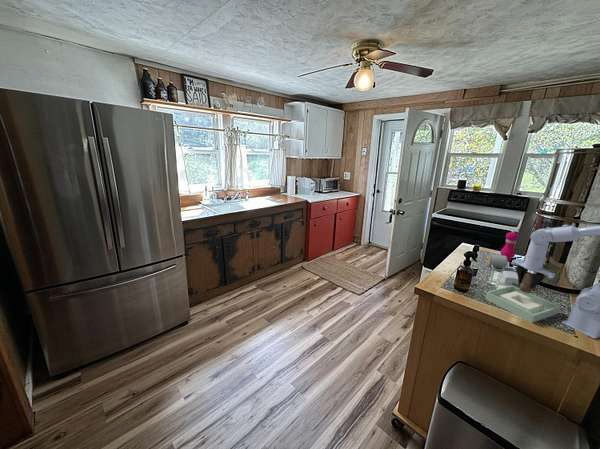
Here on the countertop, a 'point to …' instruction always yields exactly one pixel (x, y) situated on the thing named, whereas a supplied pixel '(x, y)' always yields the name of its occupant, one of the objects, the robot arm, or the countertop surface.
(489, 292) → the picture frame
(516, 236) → the pepper mill
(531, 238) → the robot arm
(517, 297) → the bore plate
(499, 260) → the ceramic mug
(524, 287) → the peg
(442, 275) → the countertop surface
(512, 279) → the charger
